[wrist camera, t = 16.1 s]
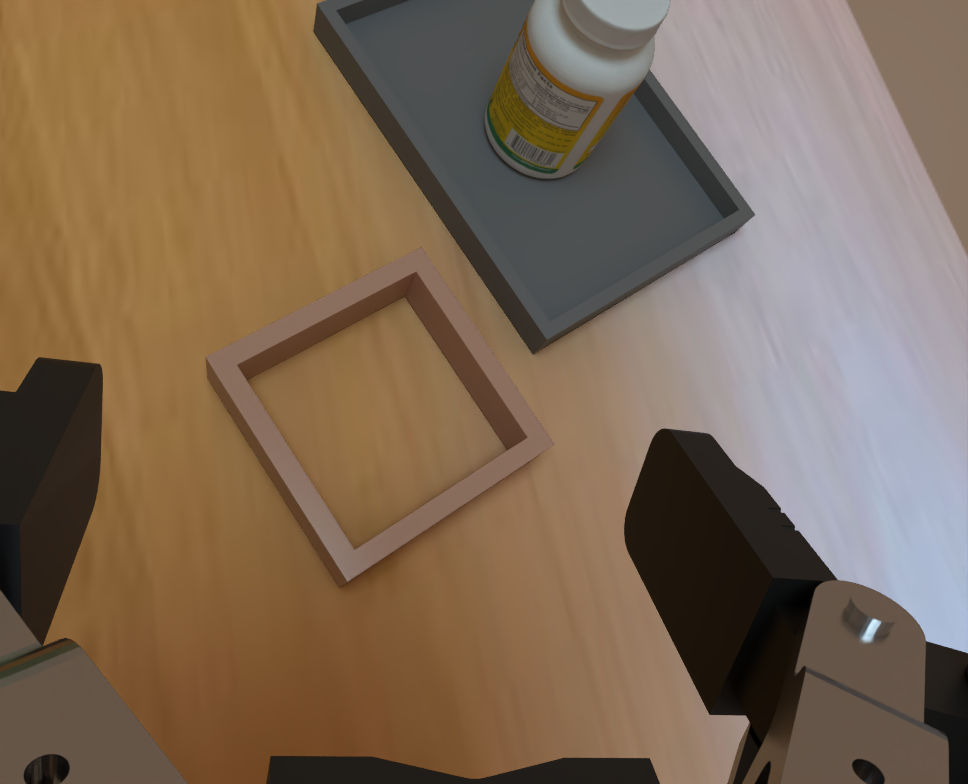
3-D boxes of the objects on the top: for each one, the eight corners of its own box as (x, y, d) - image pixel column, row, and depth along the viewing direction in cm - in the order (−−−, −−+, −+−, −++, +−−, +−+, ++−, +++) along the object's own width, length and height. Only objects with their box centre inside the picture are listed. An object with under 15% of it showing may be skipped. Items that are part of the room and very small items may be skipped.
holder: (207, 378, 34) (205, 356, 31) (410, 272, 37) (421, 246, 35) (339, 587, 33) (347, 581, 30) (534, 458, 36) (554, 444, 34)
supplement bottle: (505, 192, 39) (584, 54, 30) (465, 91, 40) (531, -71, 31) (607, 171, 41) (709, 35, 32) (566, 75, 42) (655, -82, 33)
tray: (313, 31, 40) (317, 3, 38) (531, -50, 45) (542, -78, 43) (533, 354, 38) (546, 339, 36) (735, 232, 43) (755, 214, 41)
